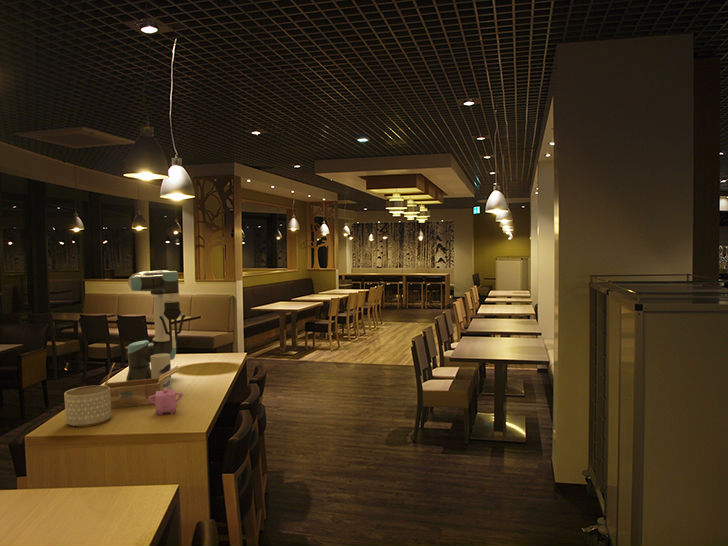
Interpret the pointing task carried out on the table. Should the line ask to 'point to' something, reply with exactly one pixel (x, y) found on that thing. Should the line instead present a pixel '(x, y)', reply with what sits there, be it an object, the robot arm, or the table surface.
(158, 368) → the container
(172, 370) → the flap
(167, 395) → the teapot
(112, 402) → the carton
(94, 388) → the planter
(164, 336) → the robot arm
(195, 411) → the table surface
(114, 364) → the flap
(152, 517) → the table surface
